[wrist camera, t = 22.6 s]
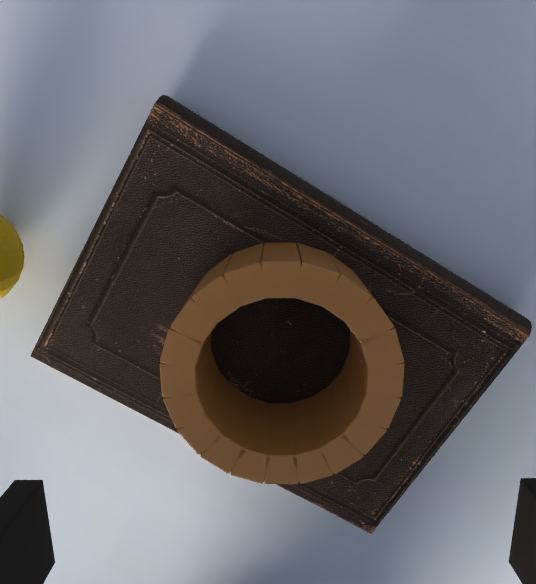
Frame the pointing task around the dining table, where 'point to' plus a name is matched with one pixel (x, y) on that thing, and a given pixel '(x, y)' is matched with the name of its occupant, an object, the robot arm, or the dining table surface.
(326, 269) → the brown wooden open cylinder
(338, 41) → the dining table surface
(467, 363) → the hardcover book
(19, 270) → the lemon
